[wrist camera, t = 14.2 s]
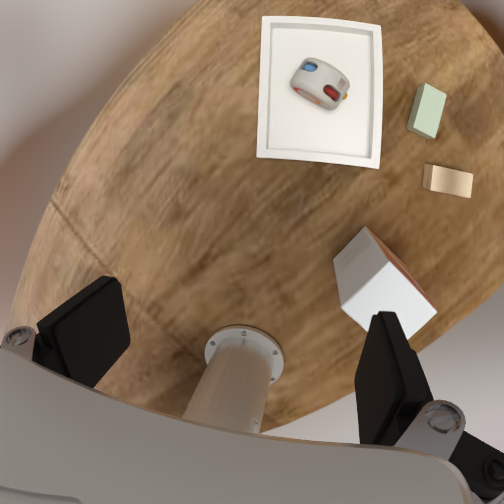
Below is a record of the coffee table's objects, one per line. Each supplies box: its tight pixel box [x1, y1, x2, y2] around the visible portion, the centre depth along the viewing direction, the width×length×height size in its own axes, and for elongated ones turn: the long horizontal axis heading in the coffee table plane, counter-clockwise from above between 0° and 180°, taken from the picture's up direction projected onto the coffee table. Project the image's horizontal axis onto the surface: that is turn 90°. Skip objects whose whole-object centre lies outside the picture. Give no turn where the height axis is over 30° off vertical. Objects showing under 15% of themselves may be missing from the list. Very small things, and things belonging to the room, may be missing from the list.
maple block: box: [422, 164, 473, 198], centre depth 30 cm, size 6×3×3 cm, turn 88°
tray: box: [256, 16, 383, 169], centre depth 30 cm, size 18×14×2 cm
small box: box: [333, 226, 437, 340], centre depth 31 cm, size 8×6×13 cm
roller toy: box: [290, 58, 350, 110], centre depth 28 cm, size 4×6×6 cm
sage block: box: [406, 83, 446, 139], centre depth 28 cm, size 6×3×3 cm, turn 163°
